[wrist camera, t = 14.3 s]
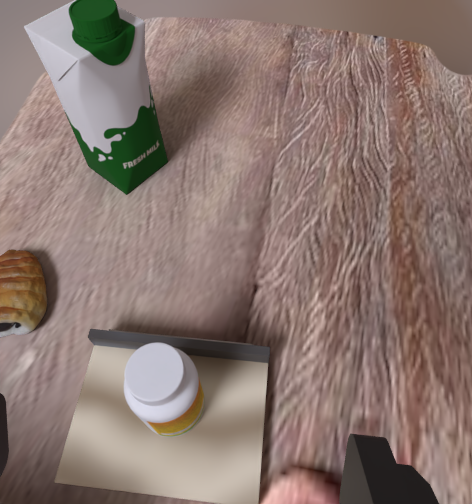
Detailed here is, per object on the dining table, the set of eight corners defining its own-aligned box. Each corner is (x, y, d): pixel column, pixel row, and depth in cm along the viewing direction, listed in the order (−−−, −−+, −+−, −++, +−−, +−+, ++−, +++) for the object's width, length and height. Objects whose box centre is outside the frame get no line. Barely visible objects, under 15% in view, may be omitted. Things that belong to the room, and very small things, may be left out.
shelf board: (101, 339, 41) (91, 325, 38) (268, 356, 40) (270, 343, 37) (60, 483, 35) (44, 480, 32) (257, 508, 34) (258, 507, 31)
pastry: (-8, 261, 46) (-27, 242, 43) (55, 253, 47) (42, 233, 44) (-23, 344, 41) (-45, 329, 38) (48, 334, 42) (32, 318, 39)
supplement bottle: (217, 392, 37) (210, 355, 29) (182, 451, 35) (164, 429, 26) (165, 361, 39) (145, 318, 30) (129, 416, 36) (96, 385, 28)
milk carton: (126, 203, 50) (67, 42, 33) (77, 166, 53) (0, 1, 36) (178, 161, 54) (150, -5, 37) (130, 129, 57) (82, -38, 40)
